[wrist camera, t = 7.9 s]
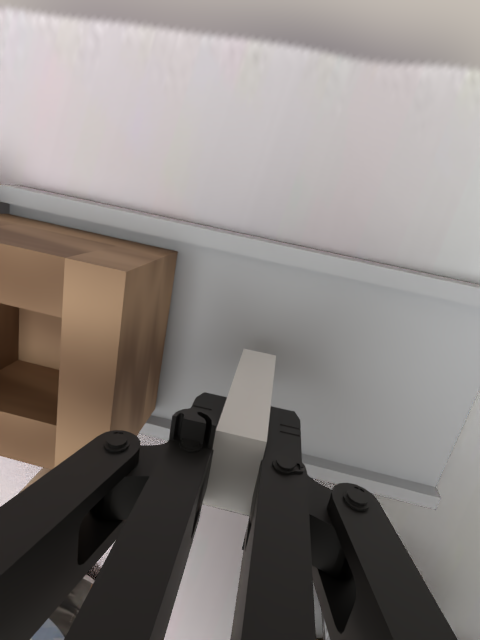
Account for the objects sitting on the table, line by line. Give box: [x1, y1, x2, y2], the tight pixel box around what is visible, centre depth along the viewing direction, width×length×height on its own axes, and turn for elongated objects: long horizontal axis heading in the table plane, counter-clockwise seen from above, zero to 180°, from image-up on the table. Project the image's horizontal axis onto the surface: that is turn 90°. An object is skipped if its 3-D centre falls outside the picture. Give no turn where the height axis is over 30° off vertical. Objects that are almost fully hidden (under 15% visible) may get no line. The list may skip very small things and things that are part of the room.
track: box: [0, 184, 480, 510], centre depth 17 cm, size 12×27×8 cm, turn 79°
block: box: [0, 214, 178, 470], centre depth 17 cm, size 9×9×6 cm
